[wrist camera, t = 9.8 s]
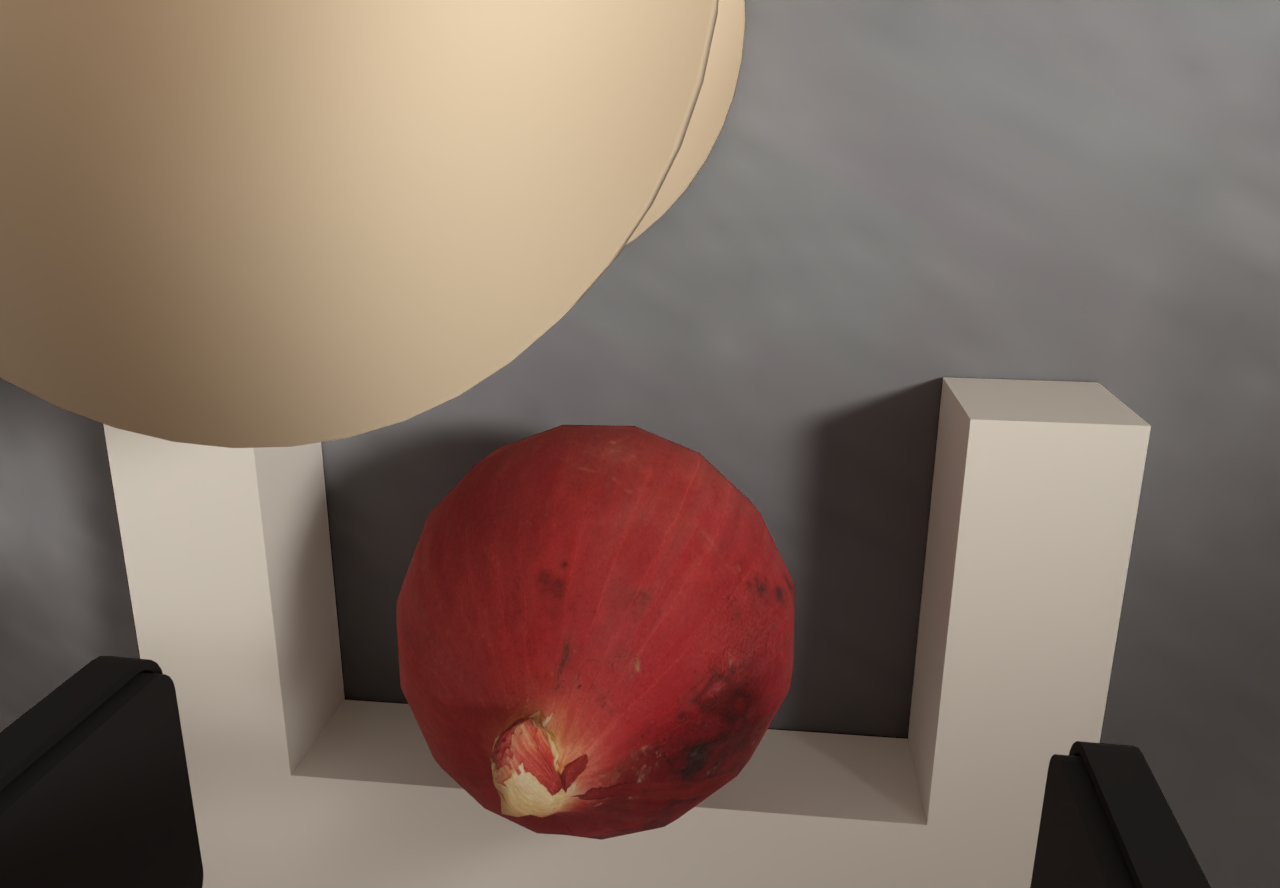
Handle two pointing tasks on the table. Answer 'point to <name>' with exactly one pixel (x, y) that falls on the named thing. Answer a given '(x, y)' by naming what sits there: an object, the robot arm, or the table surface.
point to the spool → (327, 195)
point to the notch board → (783, 761)
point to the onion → (594, 631)
